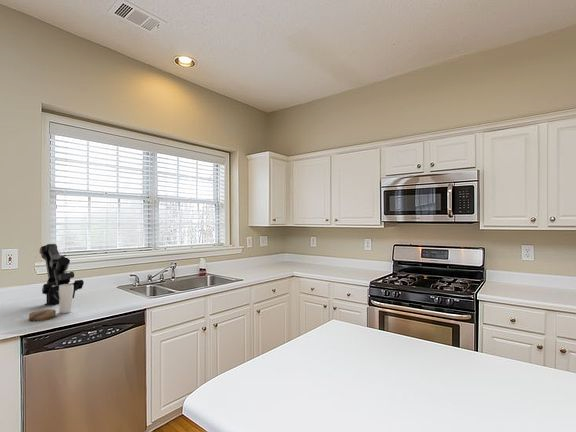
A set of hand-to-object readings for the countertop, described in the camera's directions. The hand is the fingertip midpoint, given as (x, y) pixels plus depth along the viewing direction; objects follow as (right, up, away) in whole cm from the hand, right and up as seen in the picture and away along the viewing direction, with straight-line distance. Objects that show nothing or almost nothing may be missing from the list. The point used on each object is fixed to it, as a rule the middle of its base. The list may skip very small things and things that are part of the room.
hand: (66, 299), depth 178 cm
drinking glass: (-1, -8, +1) cm, 8 cm away
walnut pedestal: (-6, -7, -9) cm, 13 cm away
